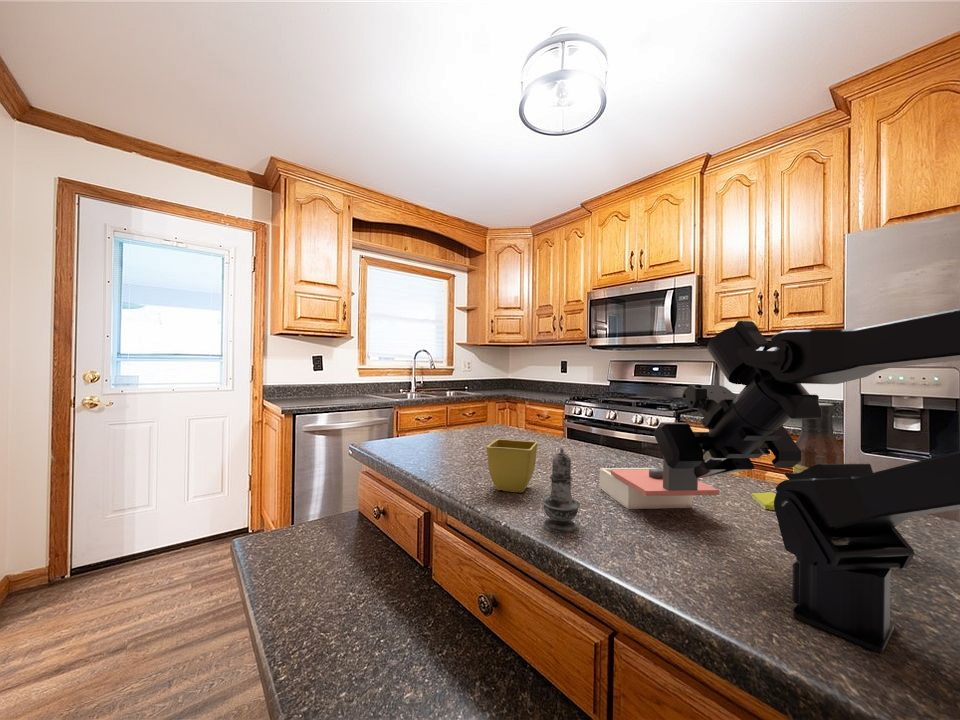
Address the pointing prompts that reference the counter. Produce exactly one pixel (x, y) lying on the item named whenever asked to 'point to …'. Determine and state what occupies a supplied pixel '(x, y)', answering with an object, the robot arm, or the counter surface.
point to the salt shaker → (561, 497)
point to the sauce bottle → (818, 441)
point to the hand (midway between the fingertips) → (697, 475)
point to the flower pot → (511, 463)
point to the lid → (664, 481)
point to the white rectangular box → (638, 493)
